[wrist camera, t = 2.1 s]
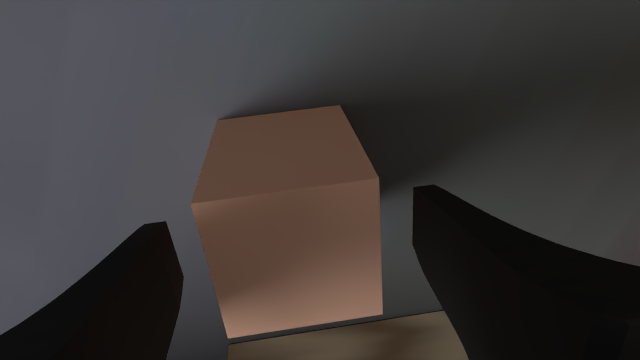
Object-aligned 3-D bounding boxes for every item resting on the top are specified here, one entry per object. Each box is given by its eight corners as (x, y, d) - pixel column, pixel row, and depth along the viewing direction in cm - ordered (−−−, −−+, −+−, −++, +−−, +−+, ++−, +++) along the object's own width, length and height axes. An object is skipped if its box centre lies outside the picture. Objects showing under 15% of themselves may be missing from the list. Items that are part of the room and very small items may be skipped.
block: (239, 223, 17) (228, 338, 12) (217, 119, 15) (191, 203, 10) (347, 208, 17) (382, 314, 12) (339, 104, 15) (378, 178, 10)
